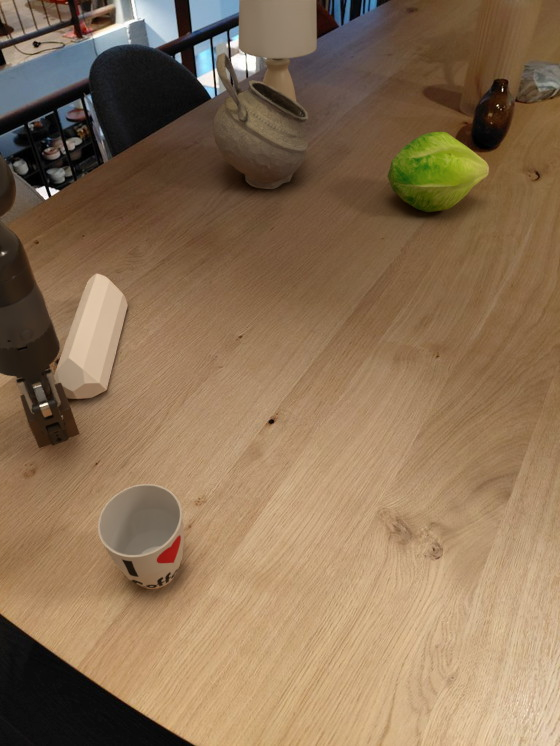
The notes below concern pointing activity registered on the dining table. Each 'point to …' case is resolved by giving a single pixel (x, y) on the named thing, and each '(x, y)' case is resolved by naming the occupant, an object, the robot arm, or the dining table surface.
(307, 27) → the lamp
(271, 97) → the pot
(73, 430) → the walnut block
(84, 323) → the crystal
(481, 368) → the dining table surface
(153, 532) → the cup
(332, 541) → the dining table surface
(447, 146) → the lettuce
